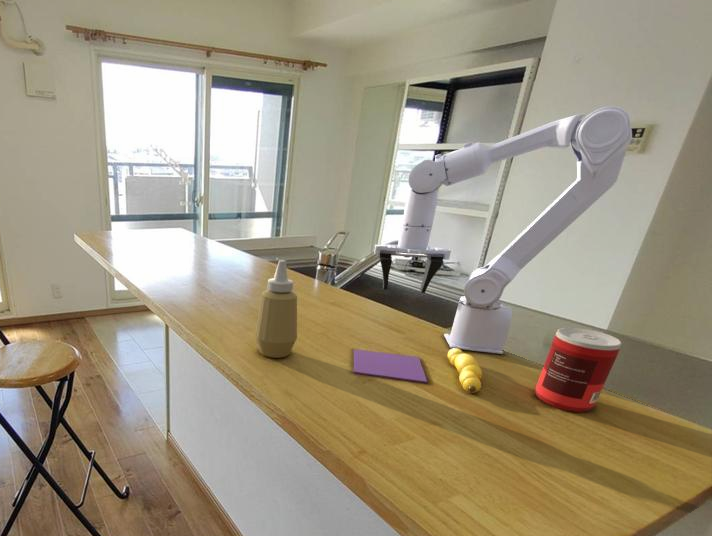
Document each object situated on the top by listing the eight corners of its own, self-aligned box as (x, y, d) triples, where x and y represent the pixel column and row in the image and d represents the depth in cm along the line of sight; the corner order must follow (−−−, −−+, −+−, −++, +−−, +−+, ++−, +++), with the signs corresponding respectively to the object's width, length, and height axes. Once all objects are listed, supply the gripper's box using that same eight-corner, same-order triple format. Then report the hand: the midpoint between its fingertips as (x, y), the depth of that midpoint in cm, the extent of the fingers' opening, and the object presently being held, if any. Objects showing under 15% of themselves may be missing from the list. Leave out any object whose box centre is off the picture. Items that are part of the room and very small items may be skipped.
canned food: (580, 393, 70) (607, 330, 66) (603, 417, 63) (634, 349, 59) (526, 385, 73) (548, 324, 68) (543, 408, 66) (568, 341, 61)
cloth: (418, 358, 82) (418, 357, 82) (426, 383, 73) (427, 381, 73) (353, 350, 86) (354, 349, 85) (353, 373, 76) (354, 371, 76)
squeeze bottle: (250, 345, 87) (256, 256, 80) (289, 344, 88) (298, 256, 80) (257, 361, 80) (264, 265, 72) (300, 360, 80) (310, 265, 73)
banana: (464, 358, 83) (468, 343, 82) (488, 400, 68) (494, 382, 66) (444, 356, 84) (448, 341, 82) (463, 396, 69) (469, 378, 67)
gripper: (380, 225, 86) (369, 291, 91) (460, 229, 82) (443, 298, 88) (378, 222, 92) (368, 284, 98) (452, 225, 88) (437, 289, 94)
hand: (403, 290), depth 93 cm, fingers open, 7 cm apart
